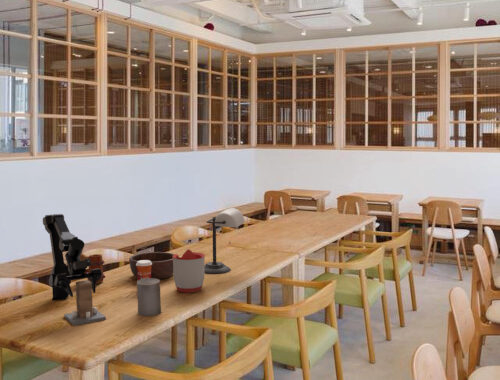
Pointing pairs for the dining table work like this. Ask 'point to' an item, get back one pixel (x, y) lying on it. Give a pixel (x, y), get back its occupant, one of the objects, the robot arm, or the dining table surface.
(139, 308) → the pillar candle
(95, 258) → the mug
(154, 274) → the wooden bowl
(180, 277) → the citrus juicer
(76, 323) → the peg nest
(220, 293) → the dining table surface
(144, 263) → the paper cup
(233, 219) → the lamp
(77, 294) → the walnut post
